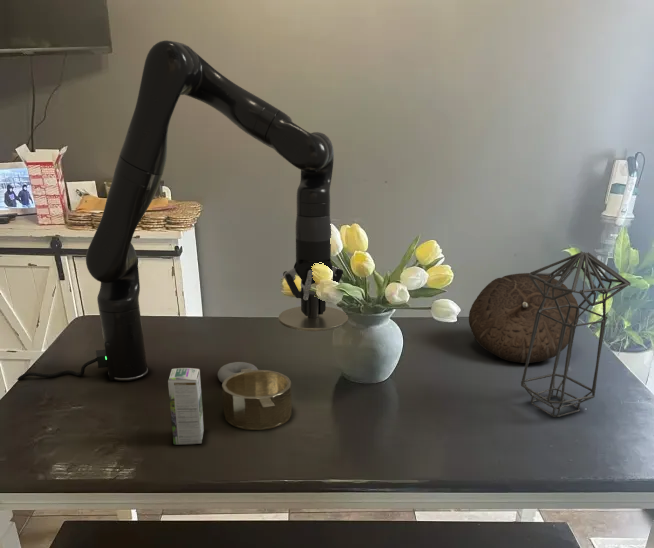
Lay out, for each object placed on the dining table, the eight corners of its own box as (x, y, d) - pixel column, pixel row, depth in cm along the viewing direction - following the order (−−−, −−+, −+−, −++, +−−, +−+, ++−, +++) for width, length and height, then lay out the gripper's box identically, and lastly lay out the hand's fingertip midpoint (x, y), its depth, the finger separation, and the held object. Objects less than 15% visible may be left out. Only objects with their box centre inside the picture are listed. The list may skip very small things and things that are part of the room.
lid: (290, 337, 144) (289, 306, 141) (270, 314, 157) (269, 285, 153) (358, 329, 148) (359, 299, 145) (334, 307, 161) (334, 280, 158)
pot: (235, 440, 138) (233, 408, 135) (216, 400, 155) (214, 369, 151) (303, 430, 143) (303, 398, 139) (277, 391, 159) (277, 362, 156)
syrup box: (176, 431, 141) (169, 367, 134) (205, 431, 142) (199, 367, 135) (173, 445, 136) (166, 379, 129) (203, 444, 137) (197, 378, 130)
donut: (212, 387, 161) (252, 390, 159) (211, 374, 159) (251, 377, 158) (226, 371, 170) (264, 374, 168) (225, 358, 168) (263, 361, 166)
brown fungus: (467, 370, 174) (457, 273, 172) (480, 369, 195) (471, 283, 194) (583, 355, 163) (573, 252, 162) (583, 357, 185) (575, 266, 183)
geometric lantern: (550, 428, 145) (582, 265, 128) (504, 399, 157) (527, 247, 140) (605, 414, 151) (643, 257, 134) (556, 387, 163) (585, 240, 146)
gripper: (338, 230, 148) (336, 306, 157) (276, 234, 144) (278, 312, 153) (350, 237, 142) (348, 316, 151) (286, 242, 138) (288, 322, 147)
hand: (313, 314), depth 152 cm, fingers closed on lid, 2 cm apart
